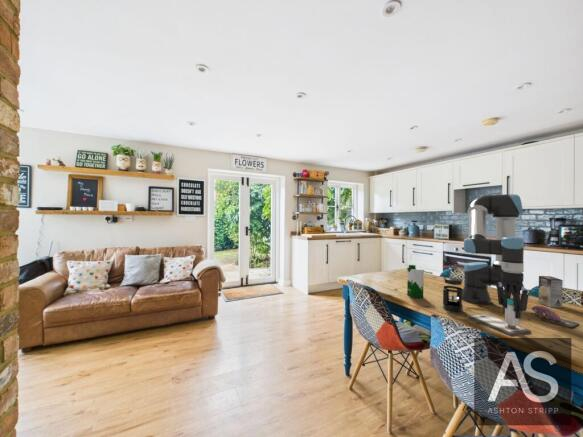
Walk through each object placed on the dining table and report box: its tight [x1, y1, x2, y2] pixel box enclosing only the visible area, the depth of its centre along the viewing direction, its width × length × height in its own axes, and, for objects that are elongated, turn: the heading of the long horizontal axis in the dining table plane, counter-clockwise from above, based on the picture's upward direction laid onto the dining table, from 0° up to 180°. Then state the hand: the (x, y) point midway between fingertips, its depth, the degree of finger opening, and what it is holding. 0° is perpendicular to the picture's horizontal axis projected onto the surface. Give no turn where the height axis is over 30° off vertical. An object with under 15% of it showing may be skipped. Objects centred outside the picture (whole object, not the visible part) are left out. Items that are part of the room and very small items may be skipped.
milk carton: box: [406, 264, 425, 299], centre depth 162 cm, size 9×9×20 cm
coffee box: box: [538, 275, 564, 308], centre depth 148 cm, size 9×6×16 cm
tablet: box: [466, 313, 532, 336], centre depth 119 cm, size 20×12×1 cm, turn 13°
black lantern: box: [442, 267, 464, 314], centre depth 139 cm, size 12×9×23 cm
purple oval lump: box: [531, 305, 561, 322], centre depth 128 cm, size 10×5×7 cm, turn 7°
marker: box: [507, 297, 516, 329], centre depth 113 cm, size 3×3×13 cm
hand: (511, 323), depth 113 cm, fingers closed on marker, 2 cm apart
